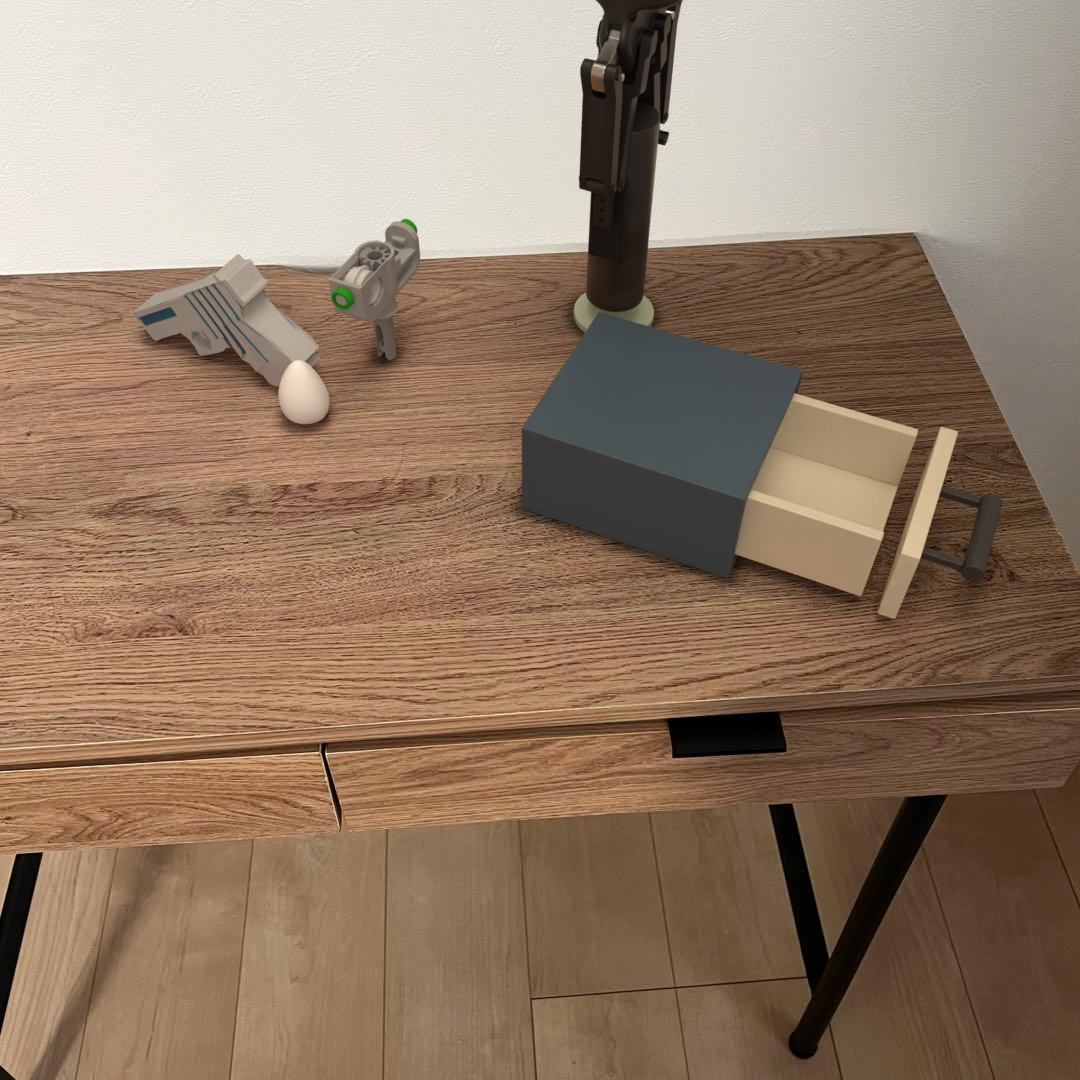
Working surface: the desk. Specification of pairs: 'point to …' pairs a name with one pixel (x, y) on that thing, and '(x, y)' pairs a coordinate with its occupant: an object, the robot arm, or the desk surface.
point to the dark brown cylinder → (630, 223)
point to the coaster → (612, 313)
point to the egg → (303, 394)
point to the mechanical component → (378, 281)
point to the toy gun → (230, 319)
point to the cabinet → (654, 440)
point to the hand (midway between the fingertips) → (619, 236)
